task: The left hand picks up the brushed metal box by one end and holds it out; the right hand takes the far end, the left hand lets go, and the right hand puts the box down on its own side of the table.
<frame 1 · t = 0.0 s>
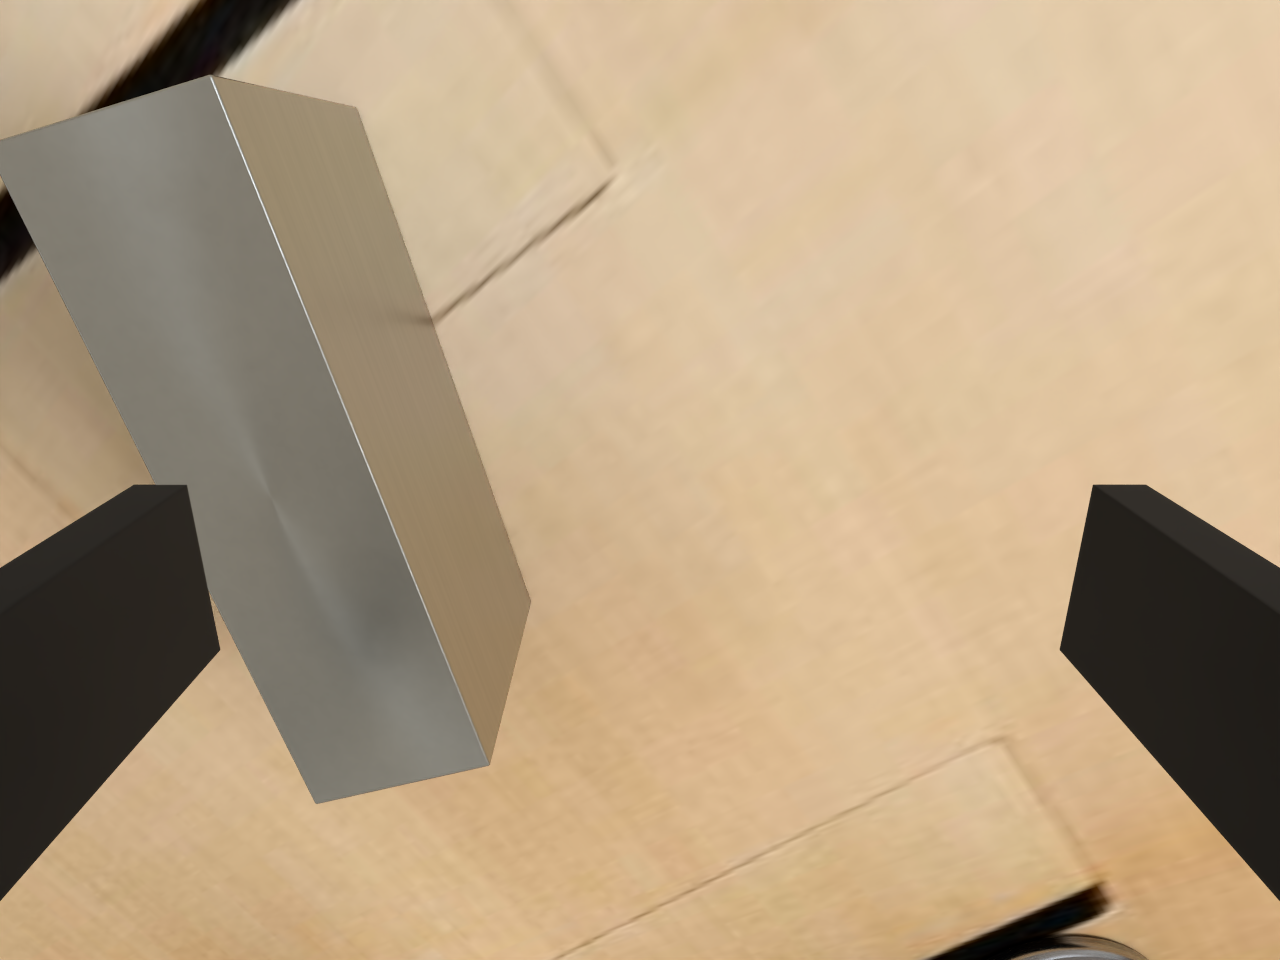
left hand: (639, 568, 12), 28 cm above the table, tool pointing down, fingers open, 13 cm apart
box: (382, 399, 40), on the table
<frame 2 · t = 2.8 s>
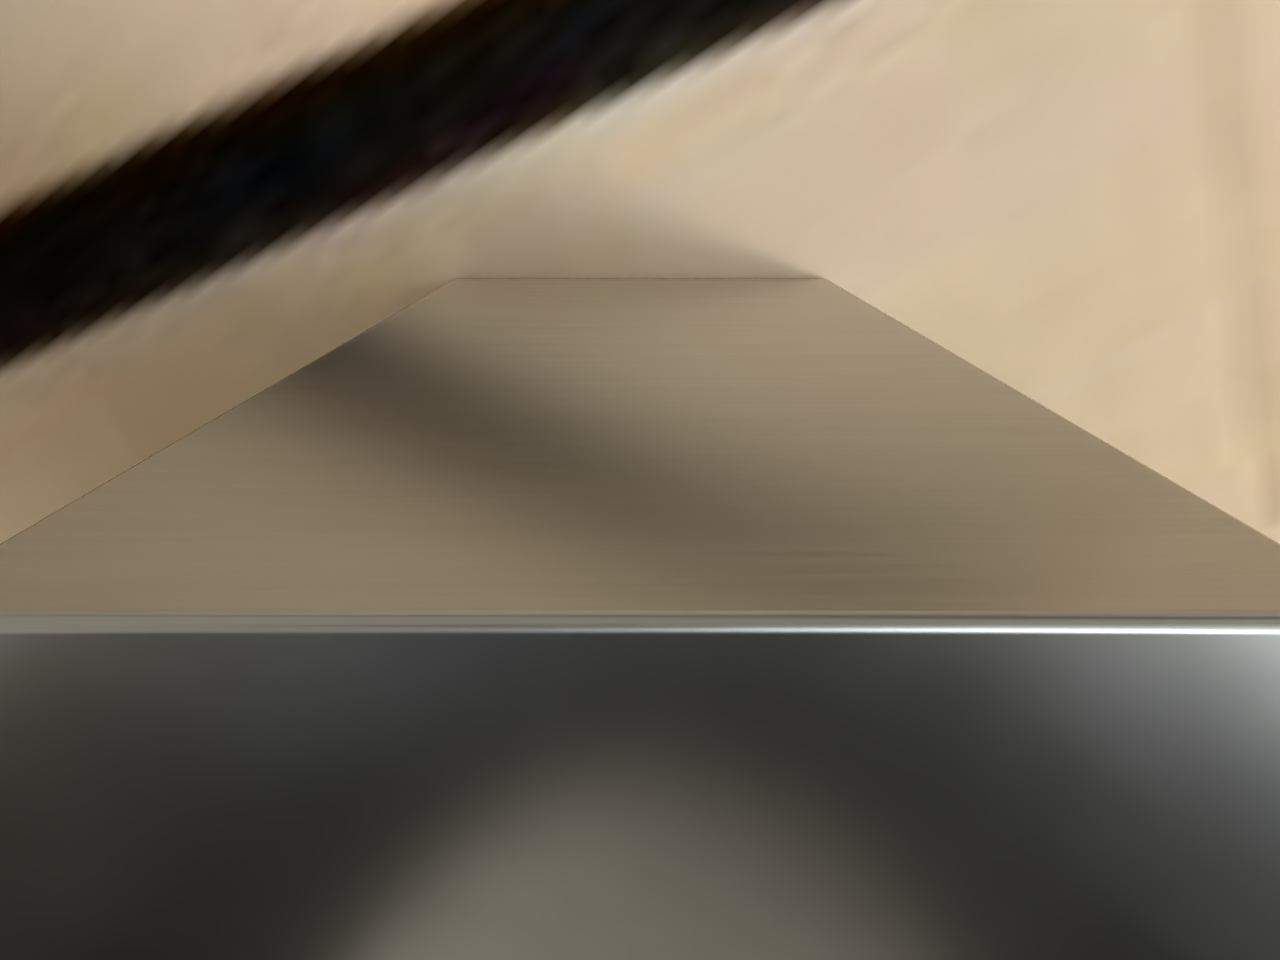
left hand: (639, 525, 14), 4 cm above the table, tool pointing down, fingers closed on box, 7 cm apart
box: (640, 798, 20), on the table, touching left hand
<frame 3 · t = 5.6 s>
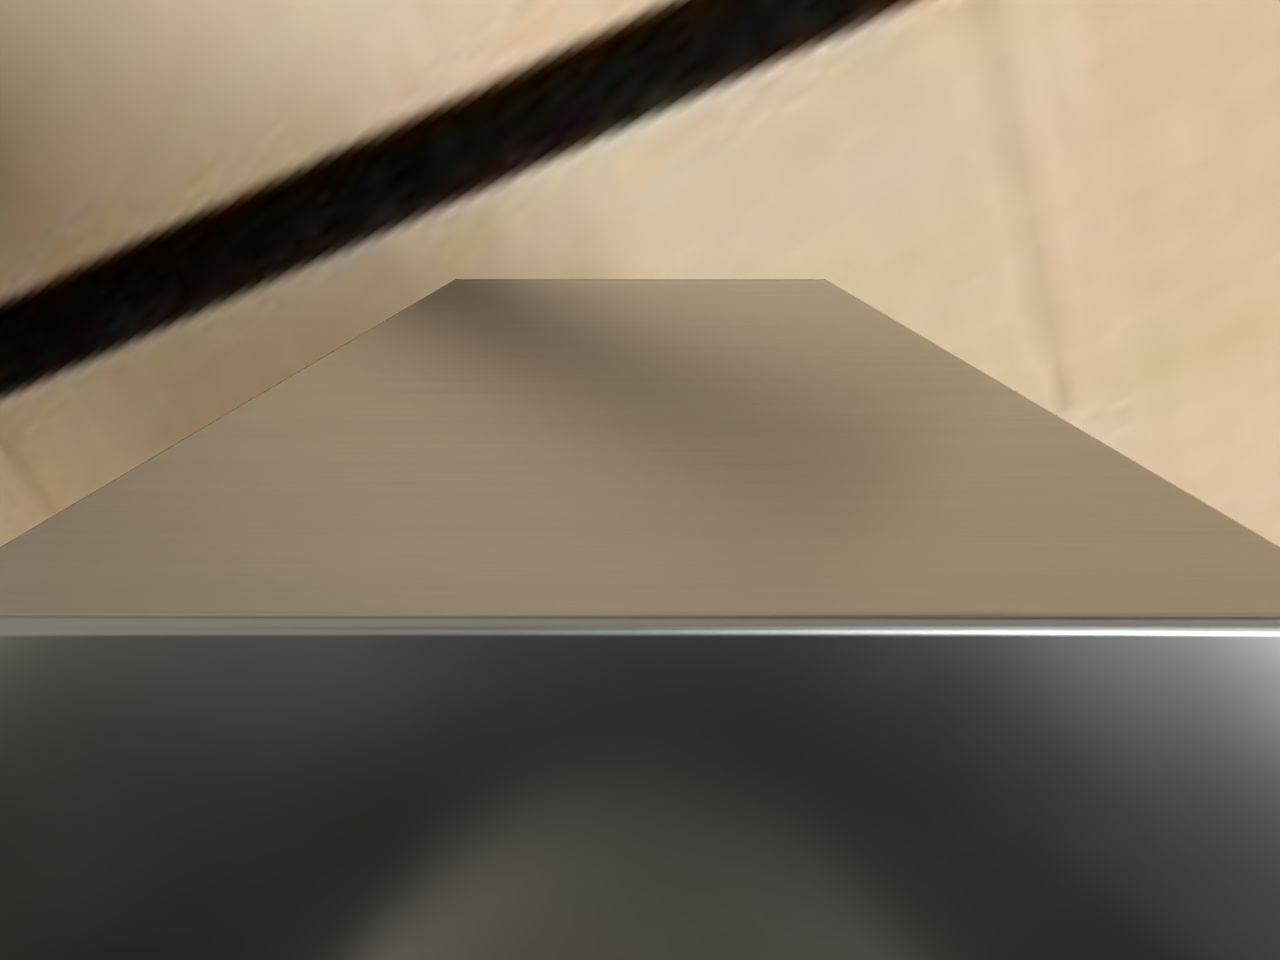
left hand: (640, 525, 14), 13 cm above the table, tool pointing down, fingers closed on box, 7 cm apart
box: (640, 799, 20), point 9 cm above the table, touching left hand
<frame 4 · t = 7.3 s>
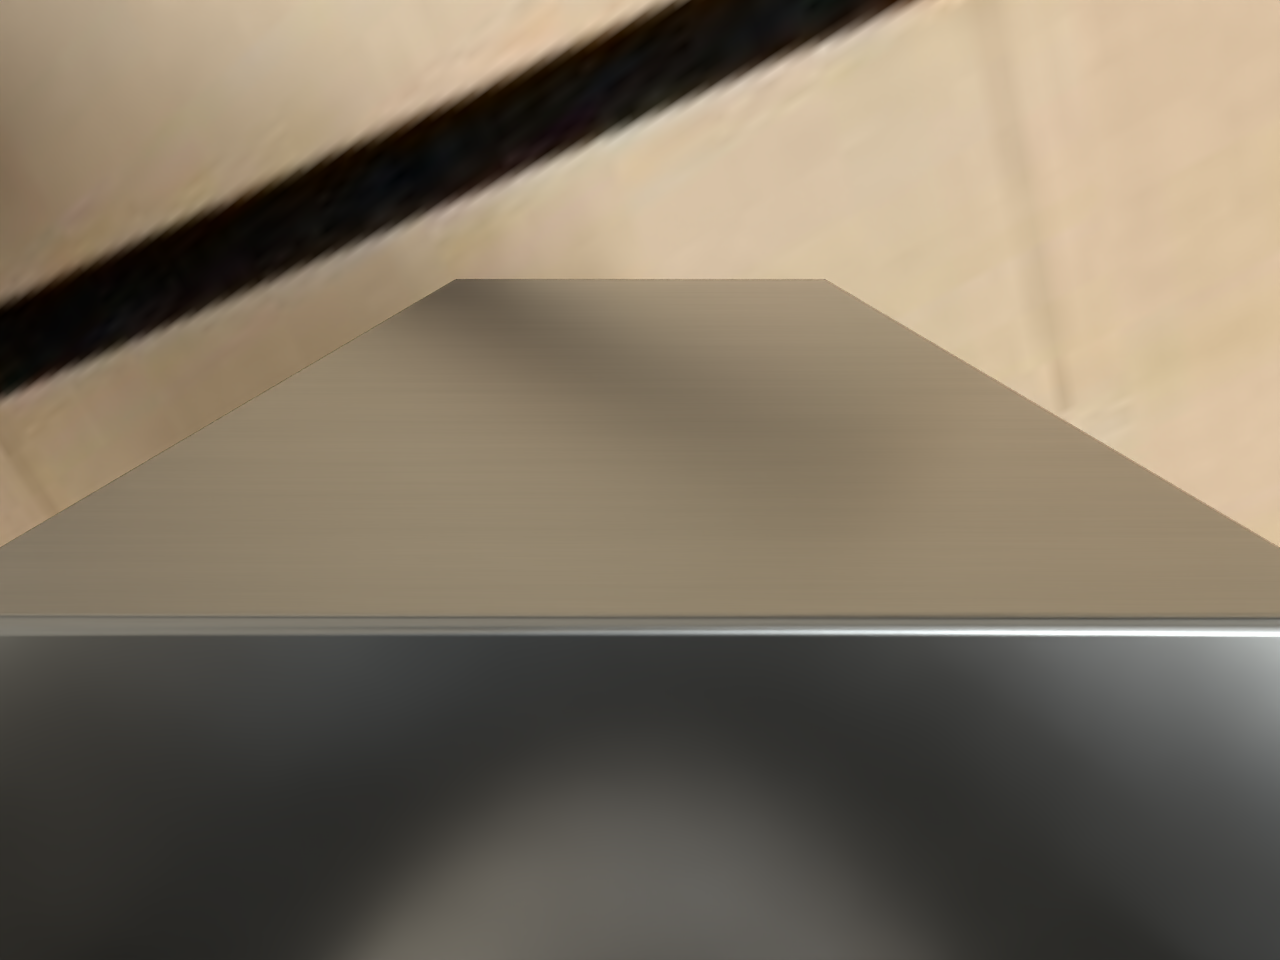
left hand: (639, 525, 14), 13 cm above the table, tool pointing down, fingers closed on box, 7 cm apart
box: (640, 798, 20), point 9 cm above the table, touching left hand, right hand
when the left hand's fingers open (13 cm above the table, at t = 8.2 s): box stays where it is, held by the right hand.
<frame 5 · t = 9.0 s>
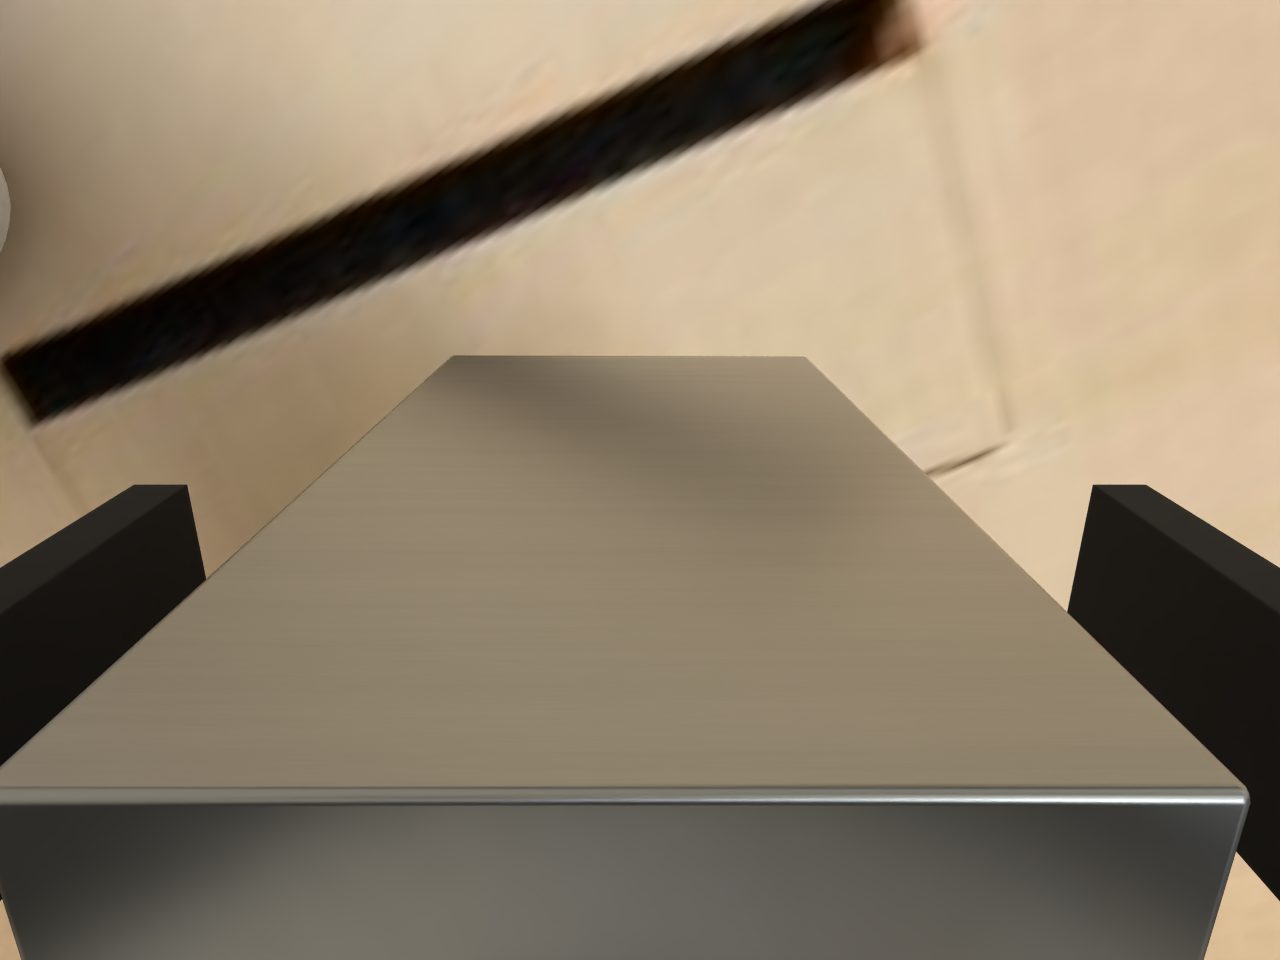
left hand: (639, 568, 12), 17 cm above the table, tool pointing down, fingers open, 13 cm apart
box: (629, 846, 21), point 12 cm above the table, touching right hand
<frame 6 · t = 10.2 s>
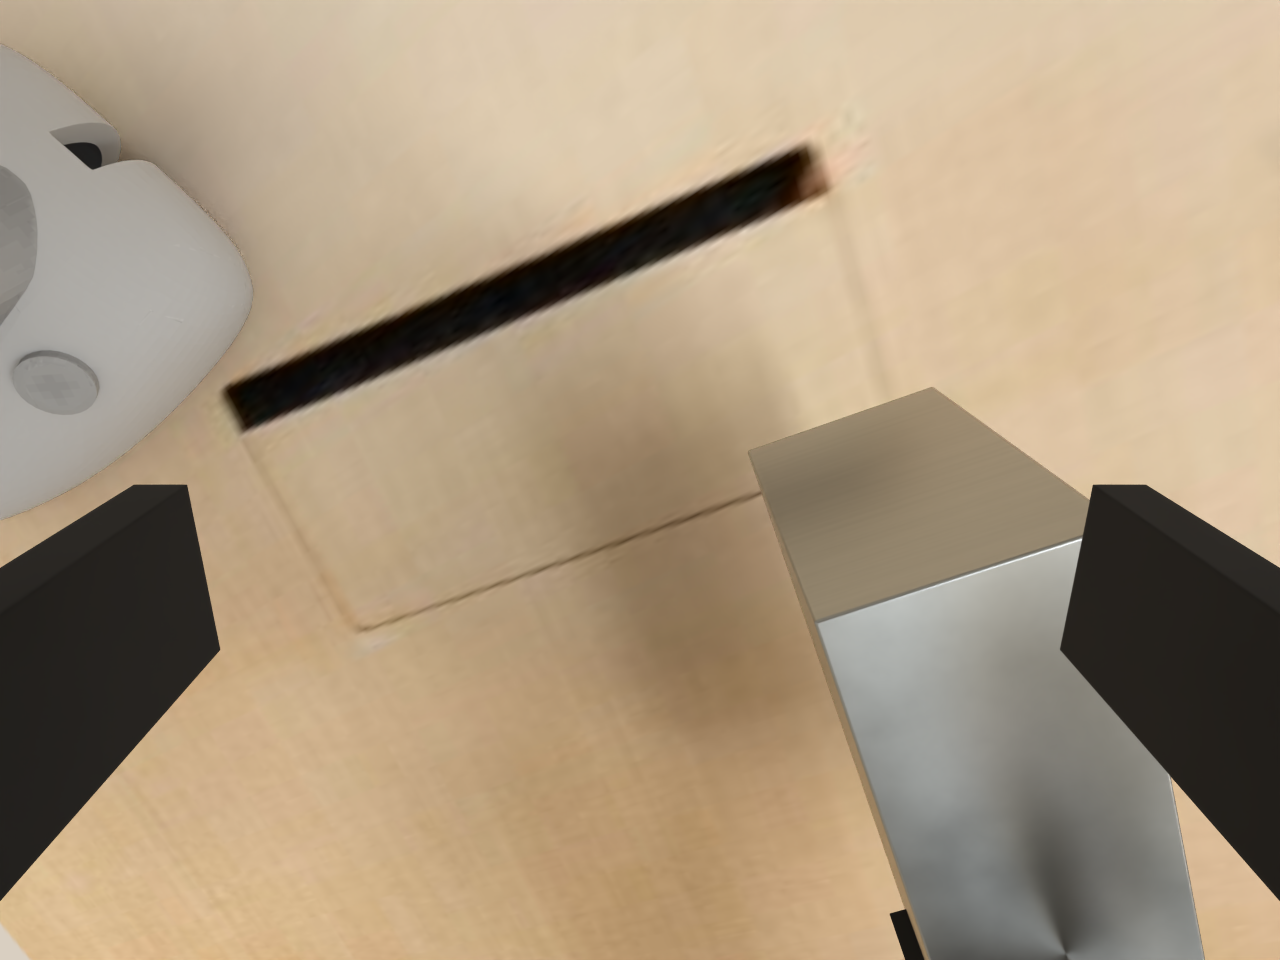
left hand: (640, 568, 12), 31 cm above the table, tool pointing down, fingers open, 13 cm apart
projector: (50, 324, 42), on the table
box: (918, 684, 35), point 12 cm above the table, touching right hand
when the right hand's fingers open (5 cm above the table, at t = 13.5 s): box drops 1 cm, on the table.
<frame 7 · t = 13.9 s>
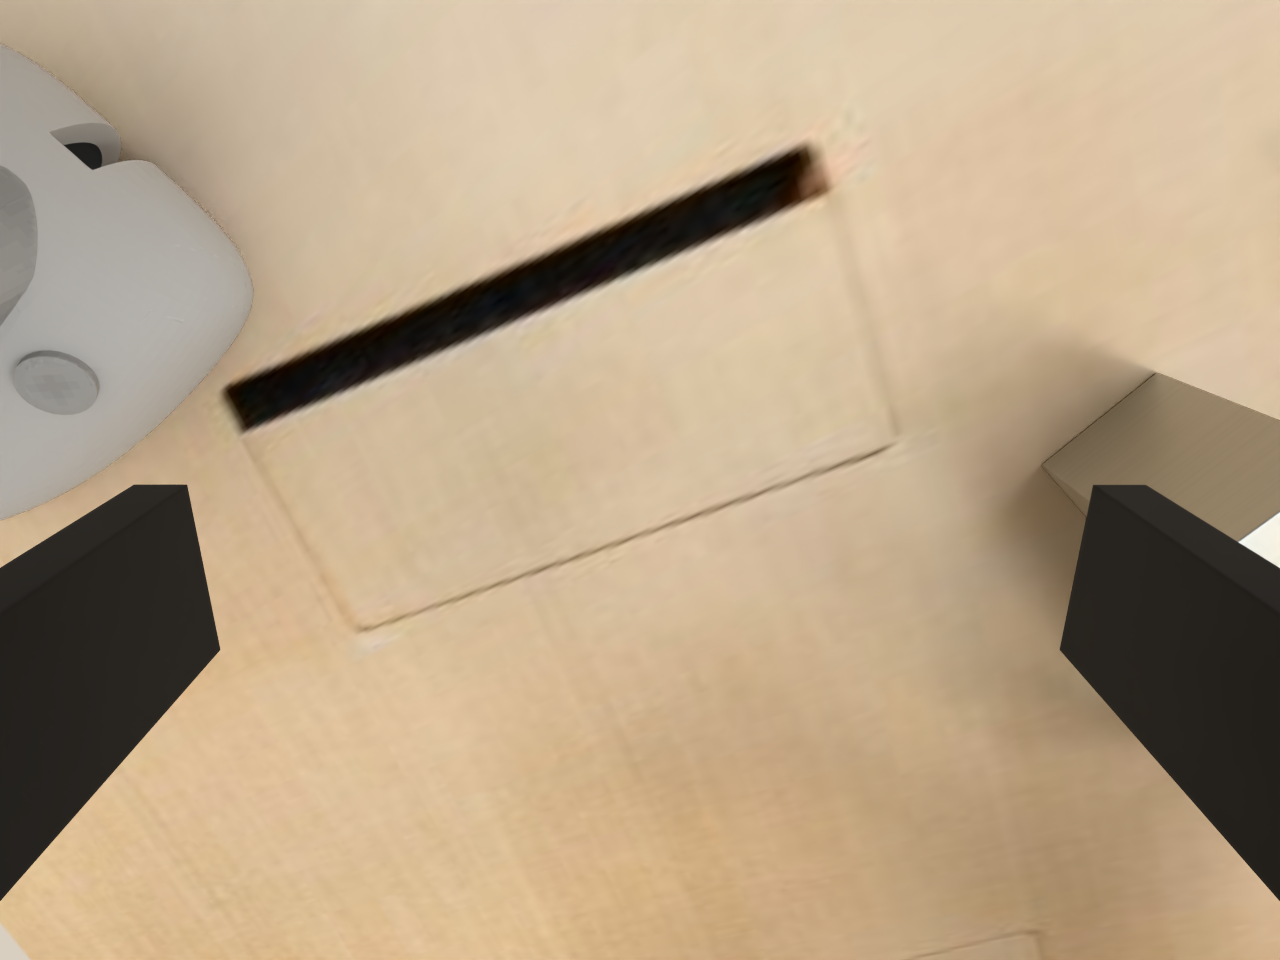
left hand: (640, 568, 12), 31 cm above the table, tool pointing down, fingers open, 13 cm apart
projector: (50, 324, 42), on the table
box: (1223, 571, 47), on the table
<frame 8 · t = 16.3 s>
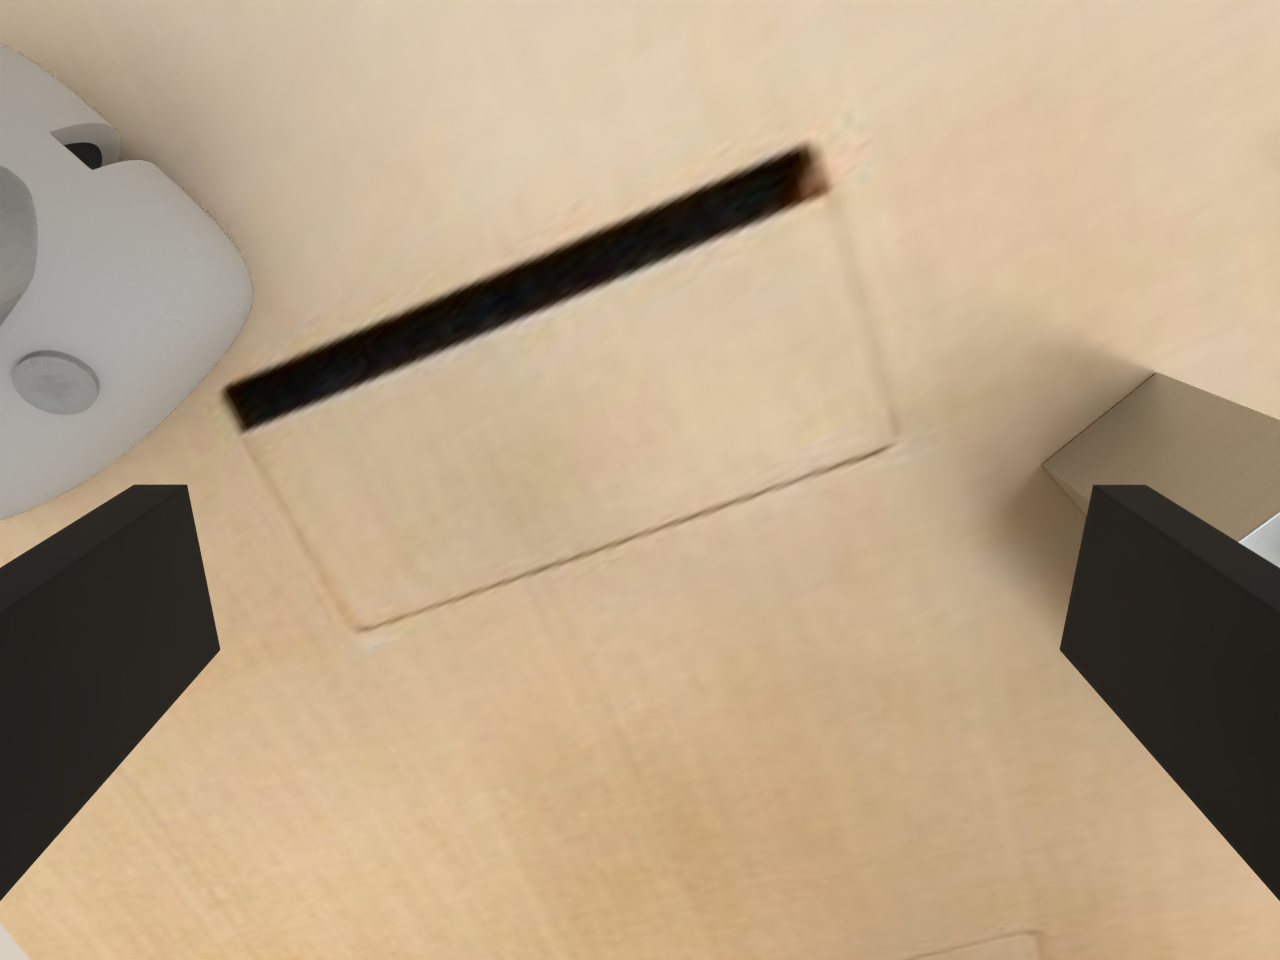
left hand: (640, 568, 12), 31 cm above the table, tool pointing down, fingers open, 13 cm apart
projector: (50, 324, 42), on the table
box: (1223, 571, 47), on the table
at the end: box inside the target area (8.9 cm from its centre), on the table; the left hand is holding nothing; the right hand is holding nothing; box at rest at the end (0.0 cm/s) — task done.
